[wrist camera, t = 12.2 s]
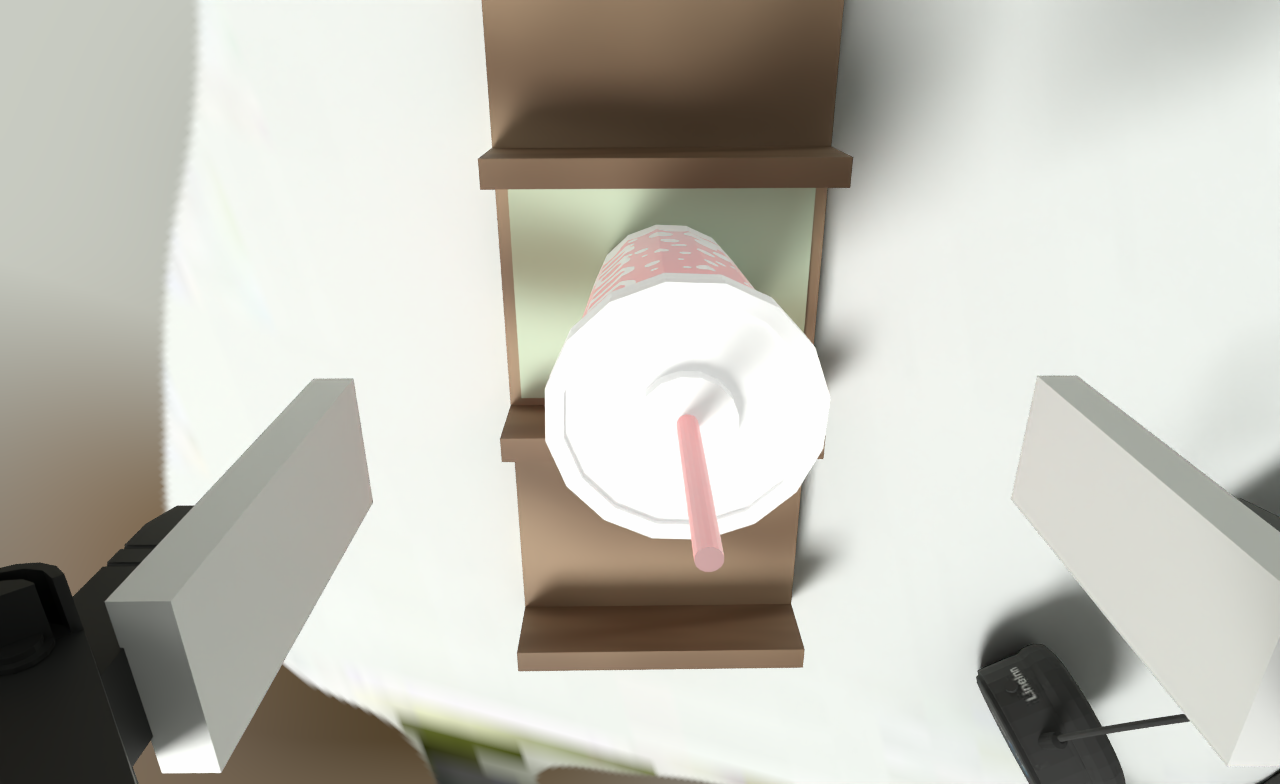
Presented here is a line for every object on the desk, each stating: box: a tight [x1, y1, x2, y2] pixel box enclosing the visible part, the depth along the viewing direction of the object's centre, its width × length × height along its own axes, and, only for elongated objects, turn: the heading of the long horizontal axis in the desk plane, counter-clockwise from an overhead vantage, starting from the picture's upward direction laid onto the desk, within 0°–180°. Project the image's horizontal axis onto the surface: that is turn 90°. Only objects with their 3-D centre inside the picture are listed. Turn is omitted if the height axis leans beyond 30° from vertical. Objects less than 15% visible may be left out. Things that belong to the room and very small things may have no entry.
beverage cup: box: [545, 225, 831, 572], centre depth 19 cm, size 6×6×14 cm
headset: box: [976, 644, 1280, 784], centre depth 30 cm, size 14×10×20 cm
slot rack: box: [478, 0, 853, 671], centre depth 25 cm, size 26×10×4 cm, turn 0°
